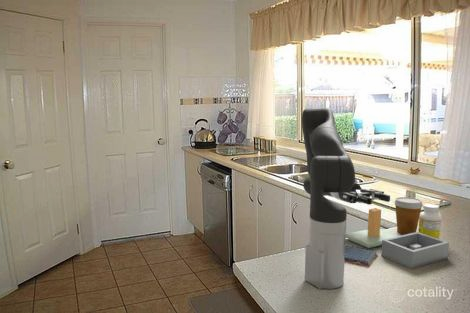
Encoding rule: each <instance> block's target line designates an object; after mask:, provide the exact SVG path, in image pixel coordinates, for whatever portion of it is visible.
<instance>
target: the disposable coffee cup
mask: <svg viewBox="0 0 470 313" xmlns="http://www.w3.org/2000/svg"><path fill="white" fill-rule="evenodd" d="M393 204H394V206H395V219H396V230H397V233H398V234H402V235H406V234H410V233H415V232H418V231H417V230H418V227H419V216H420V213H421V212H422V209H423V205H424V203H423V201H422V200H421V199H419V198H416V197H415V198H414V197H408V196H401V197H400V196H399V197H396V198H395V200H394V201H393Z"/></svg>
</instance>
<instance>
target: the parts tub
mask: <svg viewBox="0 0 470 313" xmlns="http://www.w3.org/2000/svg"><path fill="white" fill-rule="evenodd" d="M449 248H450V242H448V241H445V240H442V239H441V238H440V239H437V238H434V237H431V236H428V235H425V234H422V233H419V232H418V231H416V232H415V233H410V234H402V235H400V236H397V237H393V238H389V239H384V240H382V245H381V253H380V254H381V257H384V258H386V259H388V260H391V261H393V262H396V263H398V264H400V265H403V266H405V267H407V268H409V269H412V270H413V269H417V268H420V267H424V266H427V265H430V264H434V263H437V262H441V261H444V260H447V259H449Z"/></svg>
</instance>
